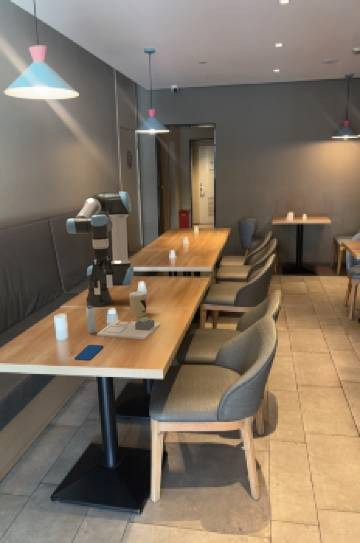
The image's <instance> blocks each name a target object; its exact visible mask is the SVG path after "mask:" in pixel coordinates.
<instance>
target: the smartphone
mask: <svg viewBox="0 0 360 543" xmlns="http://www.w3.org/2000/svg"><path fill="white" fill-rule="evenodd" d="M103 349H104V345H101V344H99V345H98V344H87V345H86V346H85V347H84V348H83V349H82V350H81V351H80V352H79V353H78V354H77V355H76V356H75V357H74V360H75V361H92V359H93V358H95V357H96V355H98V354H99V353H100V352H101V351H102V350H103Z"/></svg>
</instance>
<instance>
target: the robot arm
mask: <svg viewBox="0 0 360 543" xmlns="http://www.w3.org/2000/svg"><path fill="white" fill-rule="evenodd" d="M130 212H132V202H131V197H130V195H129V192H127V191H118V190H117V191H100V192H97V193H95V194H93V195H90V196H89V197H88V198H87V199H86V200H85V202H84V203H83V207H82V209H80V211H79V212H78V213H77V215H76V216H75V217H74V218H73V217H72V218H68V219H67V220H66V222H65V224H66V225H65V228H66V232H67V233H68V234H69V235H70V234H71V235H72V234H75V235H78V234H79V235H80V234H91V238H92V240H91V241H92V253H93V257H96V259H93V260H92V265H89V266H88V267H87V269H86V276H87V277H86V278H87V288H88V289H87V291H88V292H87V296H86V299H85V300H86V301H85V303H86V306H92V307H94V308H95V307H97V308H99V307H106V306H110V305H111V304H112V303H113V297H112V295H111V293H110V289H113V287H117V286H118V287H120V286H121V287H124V286H125V287H126V286H130V285H131V284H132V283H133V280H134V279H133V278H134V272H135V270H134V265H132V264H131V261H130V260H129V257H128V255H129V254H128V232H127V231H128V230H127V218H128V217H129V216H130V215H129V214H130ZM99 213H108V214H107V215H108V216H107V215H106V214H99ZM110 231H111V244H112V246H111V248H112V249H111V250H112V260H111V255H110V248H109V246H110V245H109V244H110V241H109V232H110Z"/></svg>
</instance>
